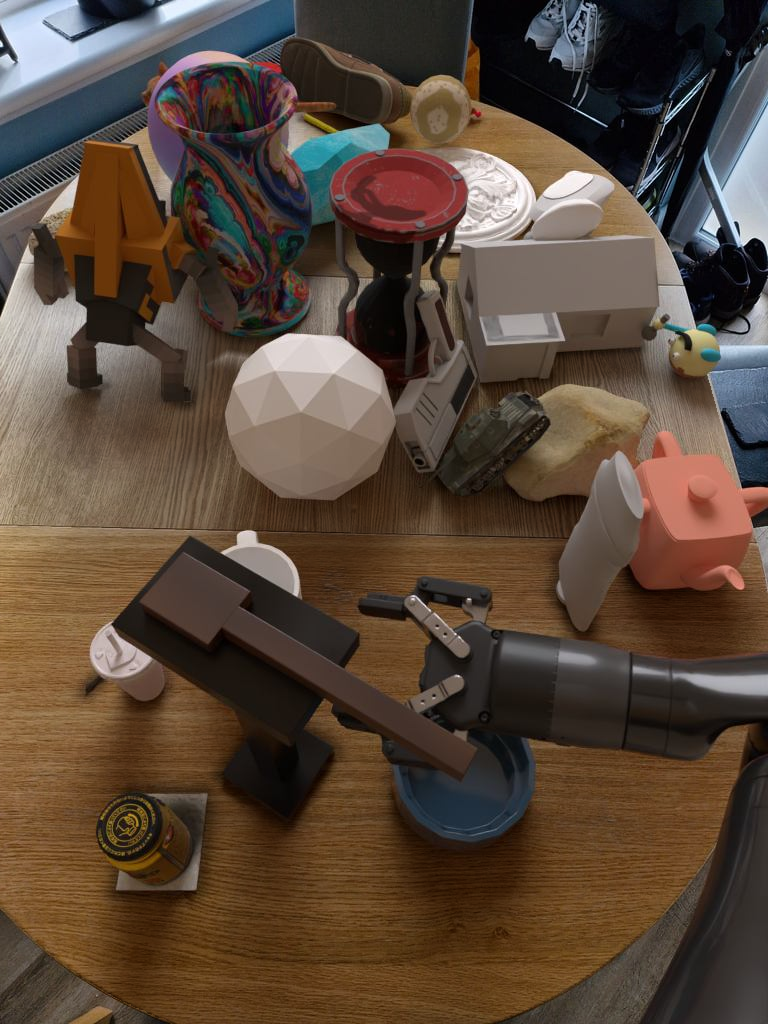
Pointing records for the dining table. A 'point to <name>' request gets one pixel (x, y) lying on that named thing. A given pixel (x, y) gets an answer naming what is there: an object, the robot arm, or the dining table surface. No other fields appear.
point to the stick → (93, 683)
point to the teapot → (692, 520)
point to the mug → (265, 561)
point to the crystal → (334, 162)
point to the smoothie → (126, 665)
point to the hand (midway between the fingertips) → (347, 656)
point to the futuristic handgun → (434, 389)
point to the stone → (577, 442)
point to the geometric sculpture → (309, 416)
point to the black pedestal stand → (252, 680)
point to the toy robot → (124, 266)
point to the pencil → (319, 124)
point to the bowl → (468, 794)
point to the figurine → (688, 347)
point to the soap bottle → (570, 207)
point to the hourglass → (394, 251)
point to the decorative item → (50, 227)
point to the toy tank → (491, 443)
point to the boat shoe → (343, 82)
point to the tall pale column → (601, 540)
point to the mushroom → (440, 109)
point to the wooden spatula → (293, 659)
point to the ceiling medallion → (488, 197)
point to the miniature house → (554, 299)
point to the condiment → (153, 839)
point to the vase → (241, 188)
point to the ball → (164, 139)
